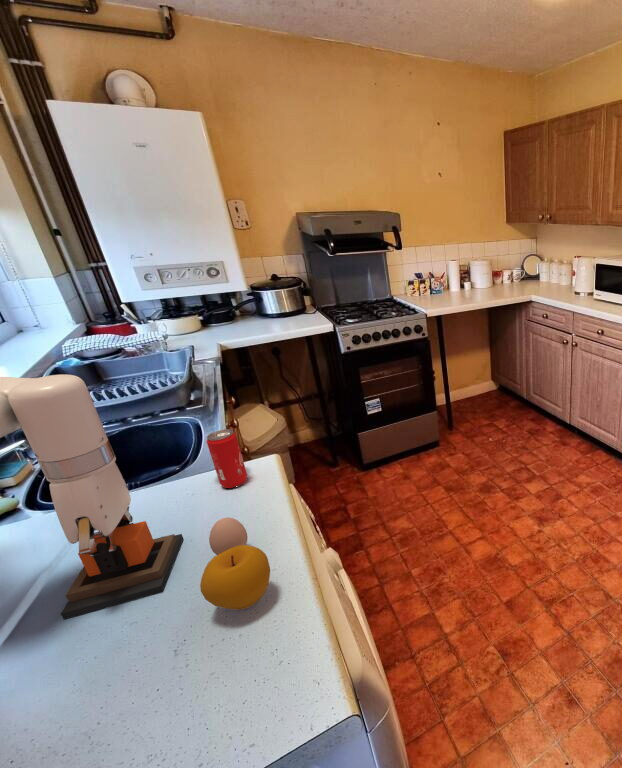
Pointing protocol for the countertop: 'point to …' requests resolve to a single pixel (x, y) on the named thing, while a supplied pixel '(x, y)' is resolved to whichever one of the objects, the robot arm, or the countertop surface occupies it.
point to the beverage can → (227, 458)
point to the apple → (236, 578)
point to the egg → (227, 535)
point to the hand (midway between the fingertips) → (122, 556)
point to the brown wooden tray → (124, 580)
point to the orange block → (125, 546)
